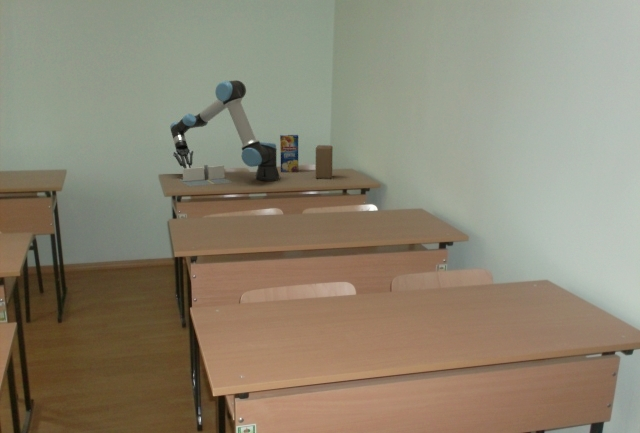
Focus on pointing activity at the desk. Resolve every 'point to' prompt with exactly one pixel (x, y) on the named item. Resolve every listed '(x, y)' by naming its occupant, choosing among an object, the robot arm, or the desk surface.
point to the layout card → (205, 182)
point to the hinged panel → (193, 174)
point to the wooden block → (324, 161)
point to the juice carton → (289, 153)
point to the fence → (214, 172)
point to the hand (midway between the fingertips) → (189, 174)
